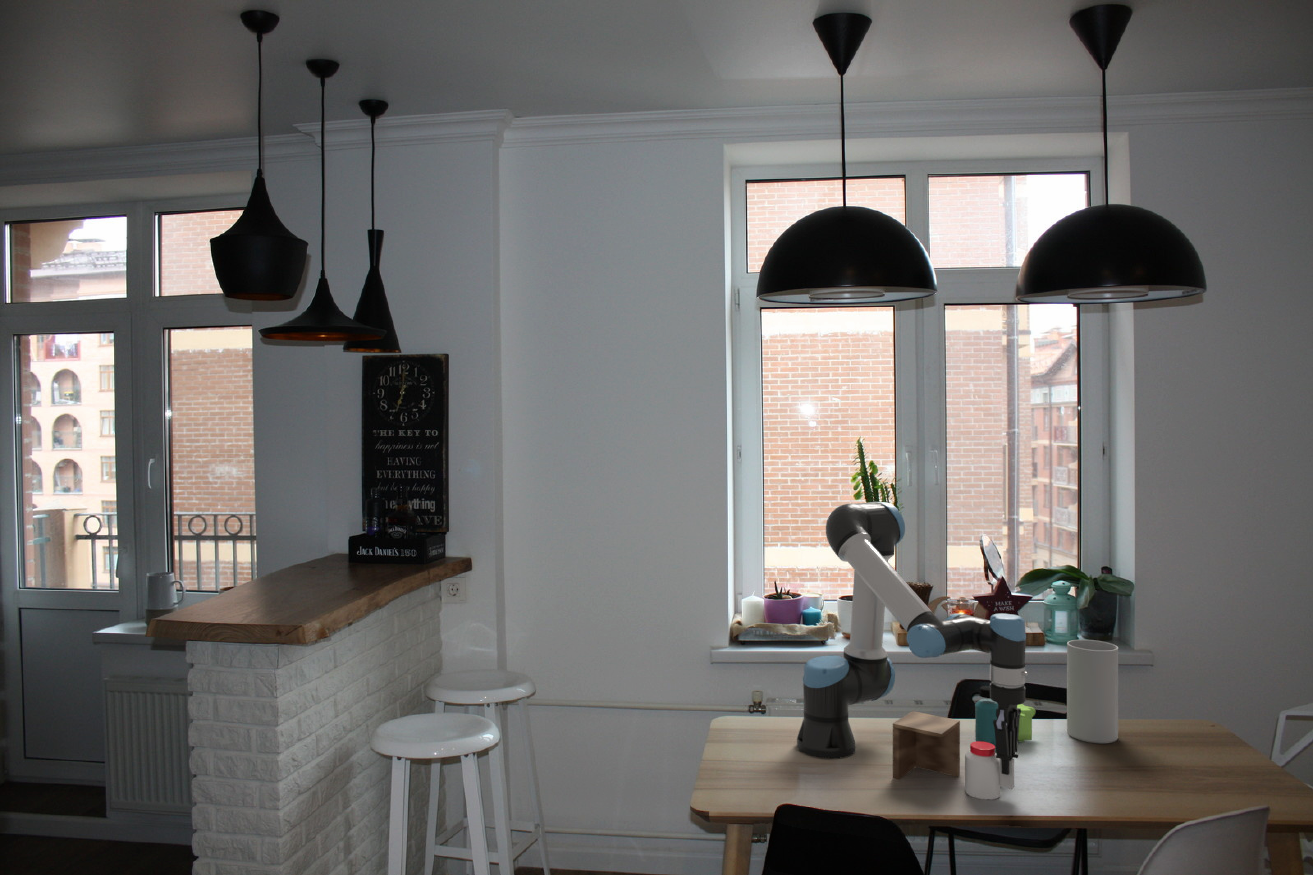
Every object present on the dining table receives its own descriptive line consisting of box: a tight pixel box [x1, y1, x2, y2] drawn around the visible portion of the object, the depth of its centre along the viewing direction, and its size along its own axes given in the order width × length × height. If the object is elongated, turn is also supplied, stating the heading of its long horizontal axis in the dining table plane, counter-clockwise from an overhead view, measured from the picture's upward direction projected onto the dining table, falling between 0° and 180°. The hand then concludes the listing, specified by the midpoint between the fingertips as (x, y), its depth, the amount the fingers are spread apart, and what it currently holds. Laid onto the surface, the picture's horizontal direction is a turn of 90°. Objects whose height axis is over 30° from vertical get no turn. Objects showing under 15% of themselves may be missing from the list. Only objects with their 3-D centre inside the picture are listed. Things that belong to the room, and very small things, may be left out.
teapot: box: [1017, 703, 1036, 743], centre depth 242 cm, size 15×13×11 cm
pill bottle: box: [964, 740, 1001, 800], centre depth 206 cm, size 8×8×11 cm
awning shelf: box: [892, 710, 961, 781], centre depth 215 cm, size 12×12×13 cm
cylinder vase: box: [1066, 639, 1119, 744], centre depth 242 cm, size 12×12×25 cm
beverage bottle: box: [974, 685, 998, 754], centre depth 220 cm, size 6×7×20 cm
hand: (1007, 786), depth 202 cm, fingers closed
